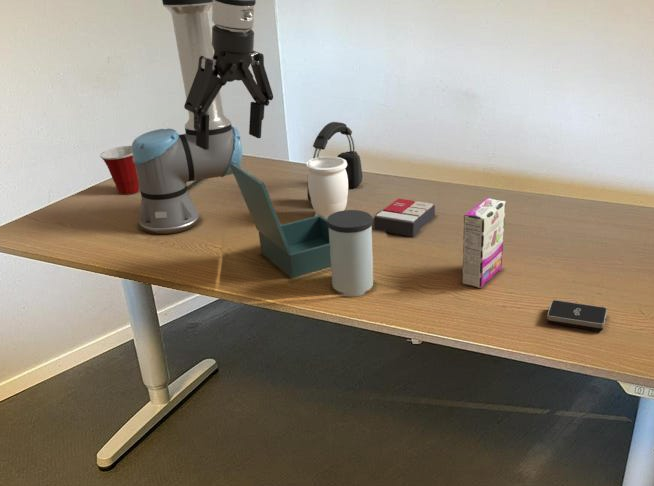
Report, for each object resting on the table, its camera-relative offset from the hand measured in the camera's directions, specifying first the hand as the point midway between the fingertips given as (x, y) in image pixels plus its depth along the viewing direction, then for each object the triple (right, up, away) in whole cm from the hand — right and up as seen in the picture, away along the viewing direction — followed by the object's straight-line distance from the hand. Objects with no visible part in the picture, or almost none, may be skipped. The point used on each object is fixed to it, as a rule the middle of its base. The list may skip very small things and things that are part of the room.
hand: (229, 141), depth 143 cm
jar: (+16, -6, +49) cm, 52 cm away
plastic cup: (-44, +6, +69) cm, 82 cm away
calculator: (+36, -8, +45) cm, 58 cm away
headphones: (+17, +4, +63) cm, 66 cm away
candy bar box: (+53, -25, +19) cm, 61 cm away
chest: (+13, -19, +28) cm, 36 cm away
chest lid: (+4, -10, +15) cm, 18 cm away
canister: (+24, -27, +16) cm, 39 cm away
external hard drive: (+69, -35, +2) cm, 78 cm away
